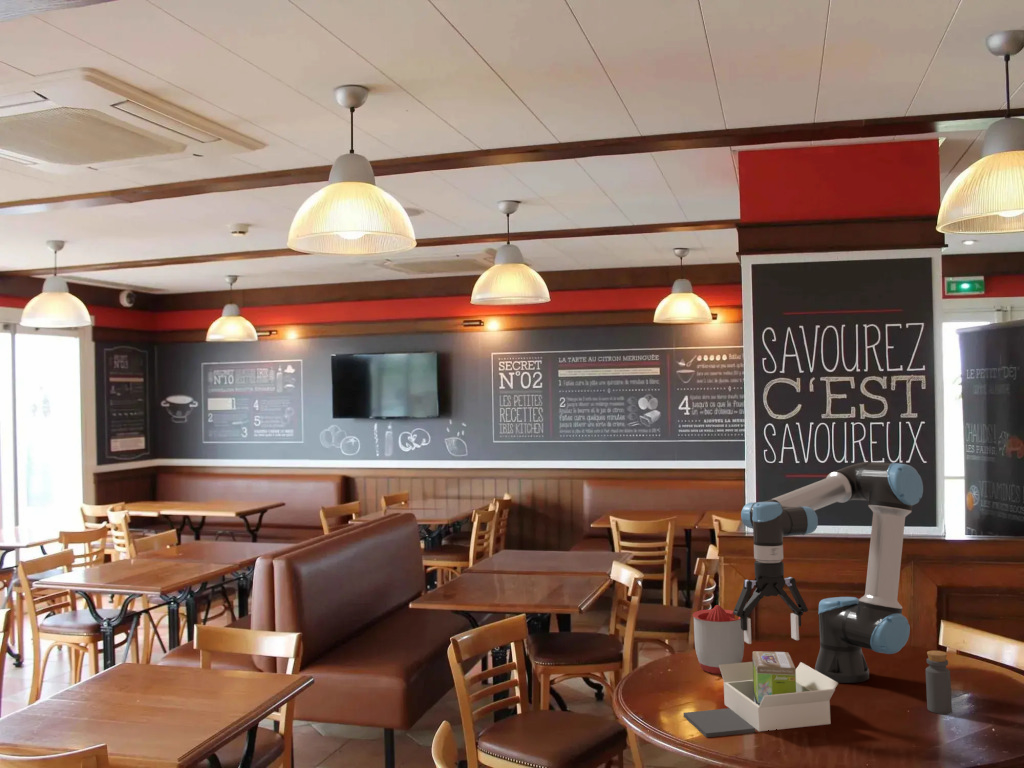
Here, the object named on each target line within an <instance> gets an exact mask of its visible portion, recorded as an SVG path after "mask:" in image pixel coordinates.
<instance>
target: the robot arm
mask: <svg viewBox="0 0 1024 768" xmlns="http://www.w3.org/2000/svg"><path fill="white" fill-rule="evenodd" d="M923 493H924V484H923V479H922V477H921V475H920V474H919V473H918V470H917V469H916V468H915V467H913V466H912V465H909V464H906V463H899V462H872V461H865V462H864V461H863V462H858V463H854V464H852V465H847V466H844V467H843V468H840V469H838V470H834V471H832V472H830V473H829V474H827V476H826V477H825V478H823V479H821V480H819V481H815V482H813V483H810V484H808V485H805V486H802V487H800V488H796V489H795V490H792V491H790V492H787V493H783V494H781V495H779V496H776V497H773V498H771V499H769V500H765V501H758V502H755V501H754V502H748V503H746V504H745V505H744V506H743V507H742V510H741V512H740V516H741V517H740V518H741V519H740V520H741V521H742V524H743V525H744V526H745V527H747V528H749V529H752V531H753V559H754V566H753V567H754V576H755V577H754V580H749V579H748V578H745V579H744V580H743V585H742V589H741V592H740V595H739V597H738V599H737V602H736V604H735V606H734V609H733V610H732V611H733V614H734V615H735V617H736V616H737V617H738V618H739V617H740V620H741V629H742V630H744V632H743V633H744V643H746V644H748V645H751V644H752V627H751V626H752V624H751V622H752V621H751V620H752V619H751V618H750V617H749V616H750V615H751V613H752V612H753V611H754V609H755V607H756V606H757V605H758V603H759V602H760V601H761V600H762V599H763V598H764V597H771V596H773V597H778V596H779V597H780V598H781V600H783V601H784V603H785V604H786V605H787V607H789V609H790V610H791V611H792V612H791V613H790V636H791V637H790V638H791V639H793V640H795V641H799V640H800V632H799V631H800V630H799V627H802V616H803V615H804V613H808V611H809V609H808V607H807V604H806V602H805V601H804V599H803V597H802V595H801V592H800V591H799V589H798V587H797V582H796V579H795V577H792V576H787V577H784V575H785V565H784V564H785V563H784V562H783V560H784V537H790V536H793V537H794V536H804V535H808V534H812V533H814V532H815V531H816V530H817V528H818V525H819V521H818V519H819V517H818V515H817V513H816V511H817V510H819V509H820V510H821V509H822V508H824V507H827V506H829V505H832V504H835V503H842V504H843V503H846V502H849V501H868V504H867V505H868V508H869V509H870V510H871V511H872V519H871V520H872V521H871V530H870V531H871V532H870V541H869V542H870V543H869V552H868V559H867V561H868V562H867V572H866V580H865V581H866V582H865V592H864V595H863V596H861V597H860V598H858V597H855V596H838V597H837V596H836V597H827V598H823V599H821V600H820V601H819V603H818V613H817V614H818V629H819V631H818V632H819V647H820V648H819V650H818V651H819V652H818V655H817V658H816V661H815V666H814V670H816V671H818V672H820V673H821V674H823V675H825V676H827V677H829V678H831V679H832V680H834V681H836V682H838V683H845V684H856V683H862V682H866V681H868V680H869V679H870V669H869V667H868V664H867V662H866V658H865V655H864V652H863V650H862V648H863V649H867V650H871V651H874V652H876V653H880V654H886V655H893V654H897V653H898V652H900V651H901V650H902V648H904V647H905V645H906V644H907V642H908V640H909V637H910V633H911V632H910V631H911V629H910V627H911V626H910V623H909V620H908V619H907V617H906V616H905V615H903V606H902V605H901V603H899V601H898V597H899V596H898V594H899V586H900V584H899V583H900V575H901V566H902V565H901V563H902V554H903V553H902V552H903V546H904V545H903V543H904V534H905V523H906V522H905V521H906V517H907V516H908V515H910V514H911V513H912V510H913V506H914V505H916V504H919V502H920V500H921V499H922V497H923ZM785 585H786V586H787V587H788V589H789V591H790V593H791V595H792V597H793V599H794V601H795V602H794V601H793V600H792V599H791V597H790V596H789V595H788V593H787V591H785V589H783V588H784V587H785ZM754 586H755V590H754V591H753V593H752V595H751V592H752V589H754ZM750 595H751V597H750ZM749 597H750V598H749Z"/></svg>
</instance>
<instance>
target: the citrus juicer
mask: <svg viewBox="0 0 1024 768" xmlns="http://www.w3.org/2000/svg"><path fill="white" fill-rule="evenodd" d="M733 611H734V610H731V609H724V608H722V606H720V605H719V604H716V605H714V607H713V608H712V609H711V608H710V609H709V608H708V609H701V610H697V611H694V612H693V613H692V617H693V637H694V648H695V653H696V657H697V659H698V664H699V666H700V668H701V670H703V671H704V672H708V673H711V674H712V675H722V674H721V671H720V668H719V665H722V664H733V663H743V659H744V658H743V657H744V653H745V652H744V651H745V641H744V630H742V629H741V620H740V617H738V618H737V619H736V615H734V614H733Z"/></svg>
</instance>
